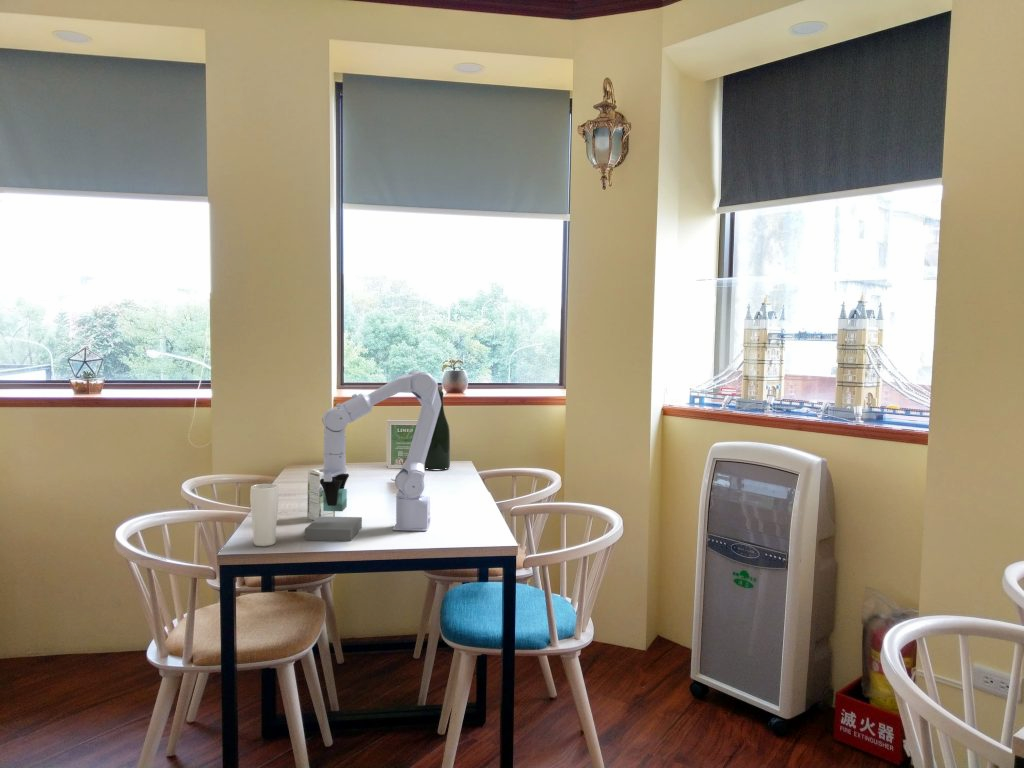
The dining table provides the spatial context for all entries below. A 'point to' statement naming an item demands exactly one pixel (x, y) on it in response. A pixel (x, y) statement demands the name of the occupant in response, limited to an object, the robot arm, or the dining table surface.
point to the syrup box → (316, 496)
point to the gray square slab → (333, 528)
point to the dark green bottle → (439, 442)
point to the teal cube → (340, 501)
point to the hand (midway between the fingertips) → (334, 503)
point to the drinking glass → (264, 513)
